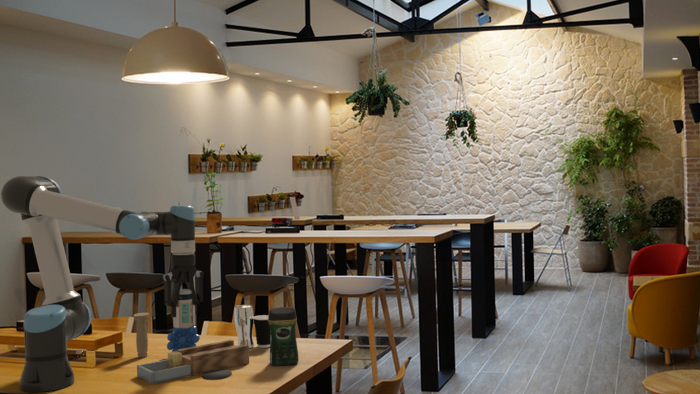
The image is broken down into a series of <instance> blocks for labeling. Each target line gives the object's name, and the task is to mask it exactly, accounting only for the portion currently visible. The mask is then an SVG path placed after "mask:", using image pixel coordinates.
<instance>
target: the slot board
mask: <svg viewBox="0 0 700 394" xmlns="http://www.w3.org/2000/svg"><path fill="white" fill-rule="evenodd" d="M177 352H180V353H182V366H184V365H190V366H191V376H197V375H203V373H204V372H207V371H210V370H217V369H225V370H227V369H231V368H235V367H240V366H243V365H247V364H250V348H249V345H241V346H238V345H235V340H233V339H227V340H223V341H222V340H221V341H218V342H217V341H216V342H212V343H207V344H201V345H196V346H195V347H189V348H184V349H179V350H177Z"/></svg>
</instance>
